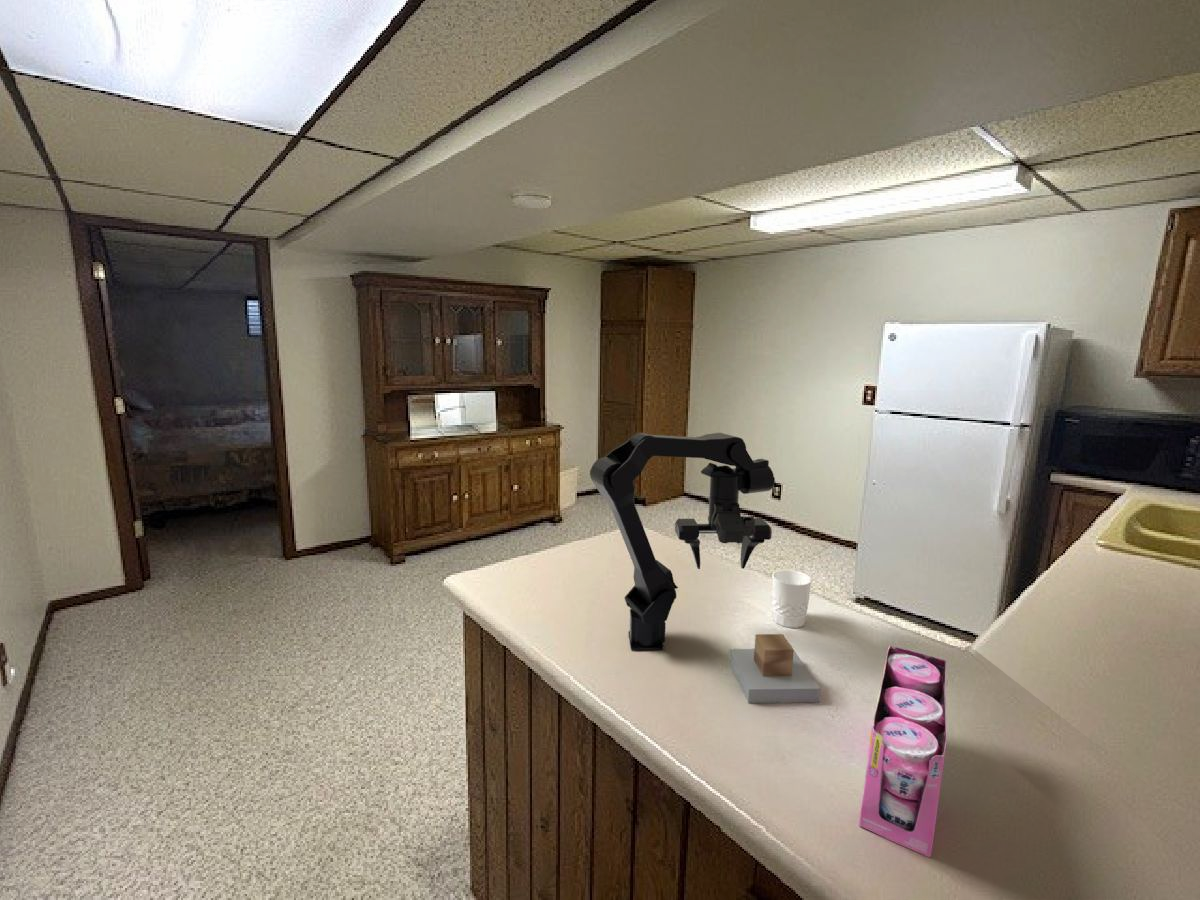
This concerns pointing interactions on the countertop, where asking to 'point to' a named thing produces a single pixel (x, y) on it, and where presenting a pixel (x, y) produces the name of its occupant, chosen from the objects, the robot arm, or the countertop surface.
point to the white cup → (790, 597)
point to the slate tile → (773, 680)
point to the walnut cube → (773, 655)
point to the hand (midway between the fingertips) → (720, 568)
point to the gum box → (906, 750)
